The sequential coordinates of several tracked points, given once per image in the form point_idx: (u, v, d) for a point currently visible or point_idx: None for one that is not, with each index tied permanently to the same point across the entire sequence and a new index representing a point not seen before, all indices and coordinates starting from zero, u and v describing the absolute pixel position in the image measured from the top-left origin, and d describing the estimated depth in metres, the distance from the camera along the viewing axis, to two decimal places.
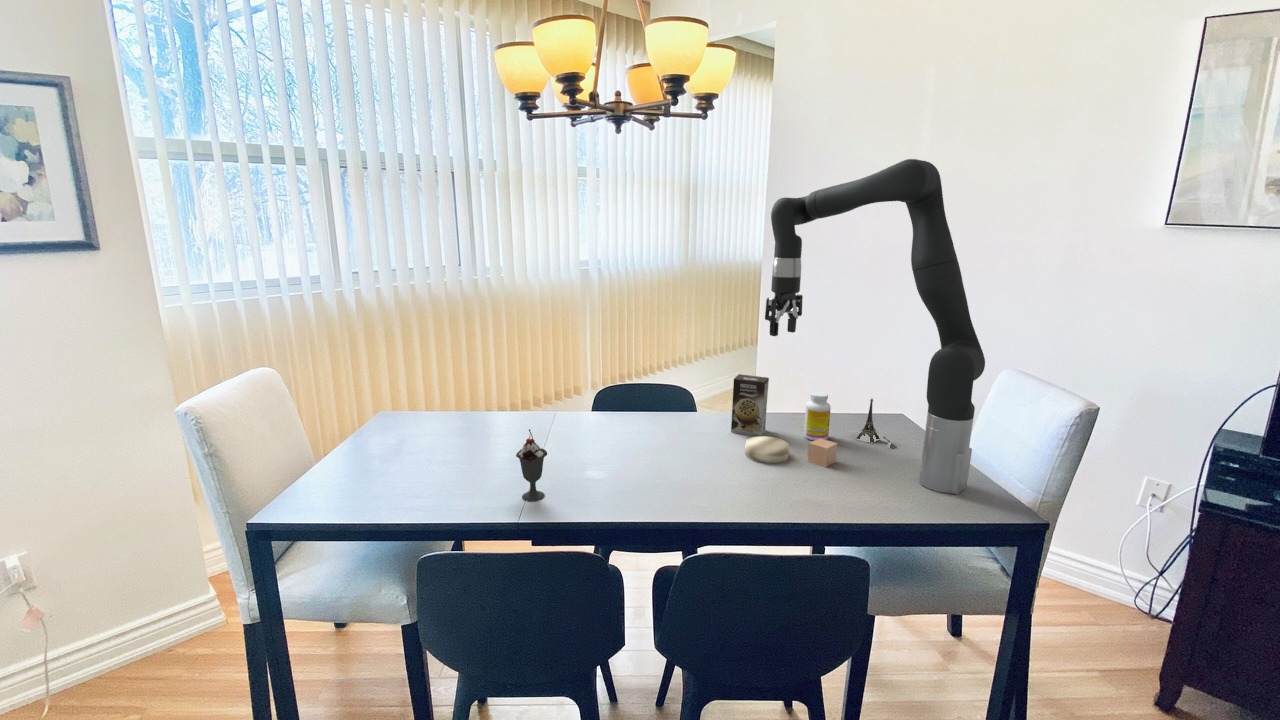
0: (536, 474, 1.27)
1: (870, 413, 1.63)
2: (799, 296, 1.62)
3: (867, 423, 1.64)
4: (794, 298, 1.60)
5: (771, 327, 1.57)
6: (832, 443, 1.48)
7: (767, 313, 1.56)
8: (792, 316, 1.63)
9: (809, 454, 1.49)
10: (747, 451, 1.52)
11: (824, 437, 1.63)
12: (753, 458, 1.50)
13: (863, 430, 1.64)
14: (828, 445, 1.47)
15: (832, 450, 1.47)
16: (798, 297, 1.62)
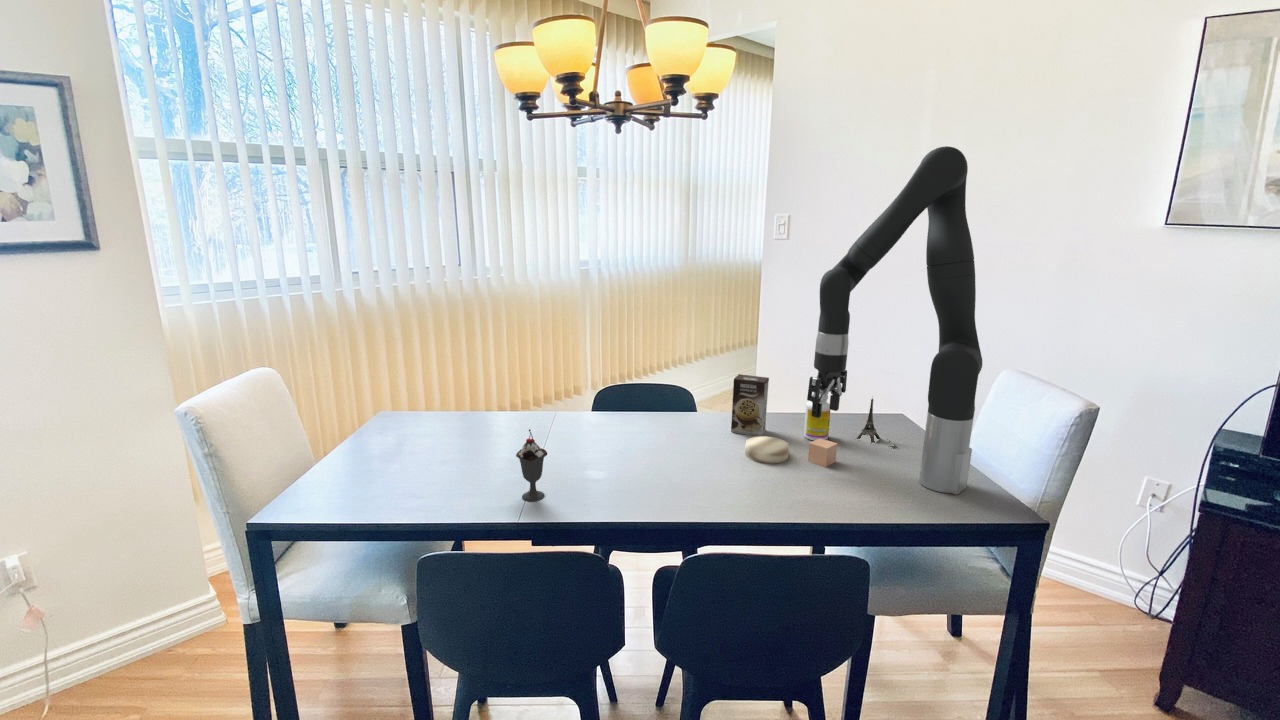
0: (536, 474, 1.27)
1: (870, 413, 1.63)
2: (843, 372, 1.48)
3: (867, 423, 1.64)
4: (839, 375, 1.46)
5: (814, 408, 1.43)
6: (832, 443, 1.48)
7: (810, 393, 1.41)
8: (835, 393, 1.48)
9: (809, 454, 1.49)
10: (747, 451, 1.52)
11: (824, 437, 1.63)
12: (753, 458, 1.50)
13: (863, 430, 1.64)
14: (828, 445, 1.47)
15: (832, 450, 1.47)
16: (842, 373, 1.48)
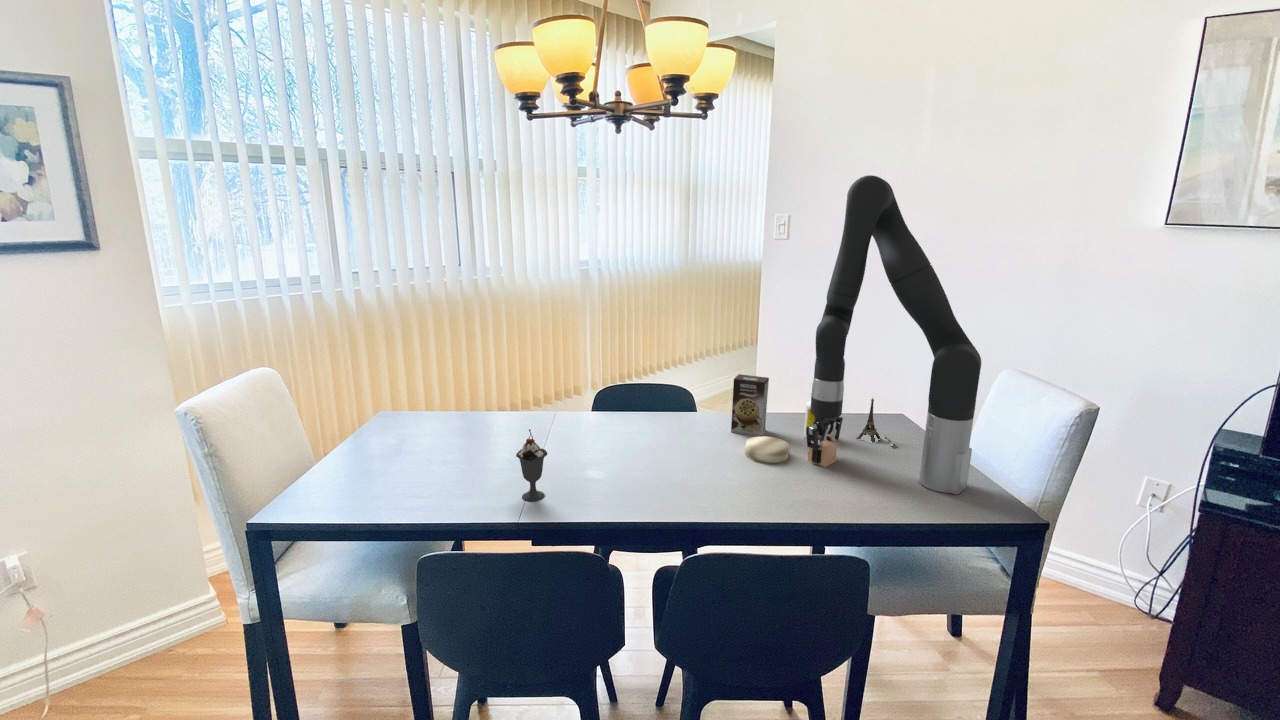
0: (536, 474, 1.27)
1: (871, 413, 1.63)
2: (839, 418, 1.50)
3: (868, 423, 1.64)
4: (835, 419, 1.48)
5: (813, 454, 1.47)
6: (832, 443, 1.48)
7: (809, 441, 1.45)
8: (829, 440, 1.50)
9: (809, 454, 1.49)
10: (747, 451, 1.52)
11: None
12: (753, 458, 1.50)
13: (864, 430, 1.64)
14: (827, 445, 1.47)
15: (832, 449, 1.47)
16: (838, 419, 1.50)
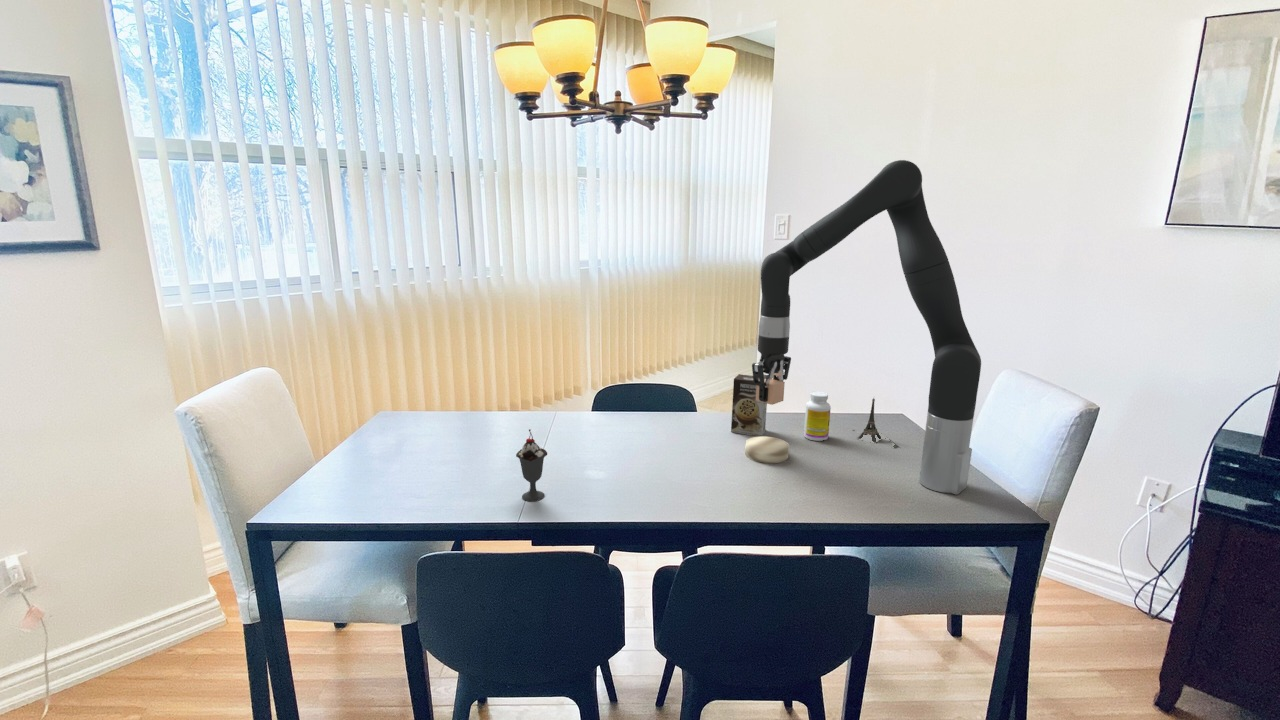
0: (536, 474, 1.27)
1: (872, 413, 1.63)
2: (787, 358, 1.51)
3: (869, 423, 1.64)
4: (782, 358, 1.49)
5: (760, 392, 1.47)
6: (779, 382, 1.49)
7: (755, 378, 1.45)
8: (777, 379, 1.51)
9: (757, 393, 1.49)
10: (747, 451, 1.52)
11: (824, 437, 1.63)
12: (753, 458, 1.50)
13: (865, 430, 1.64)
14: (774, 383, 1.47)
15: (779, 388, 1.48)
16: (786, 359, 1.51)
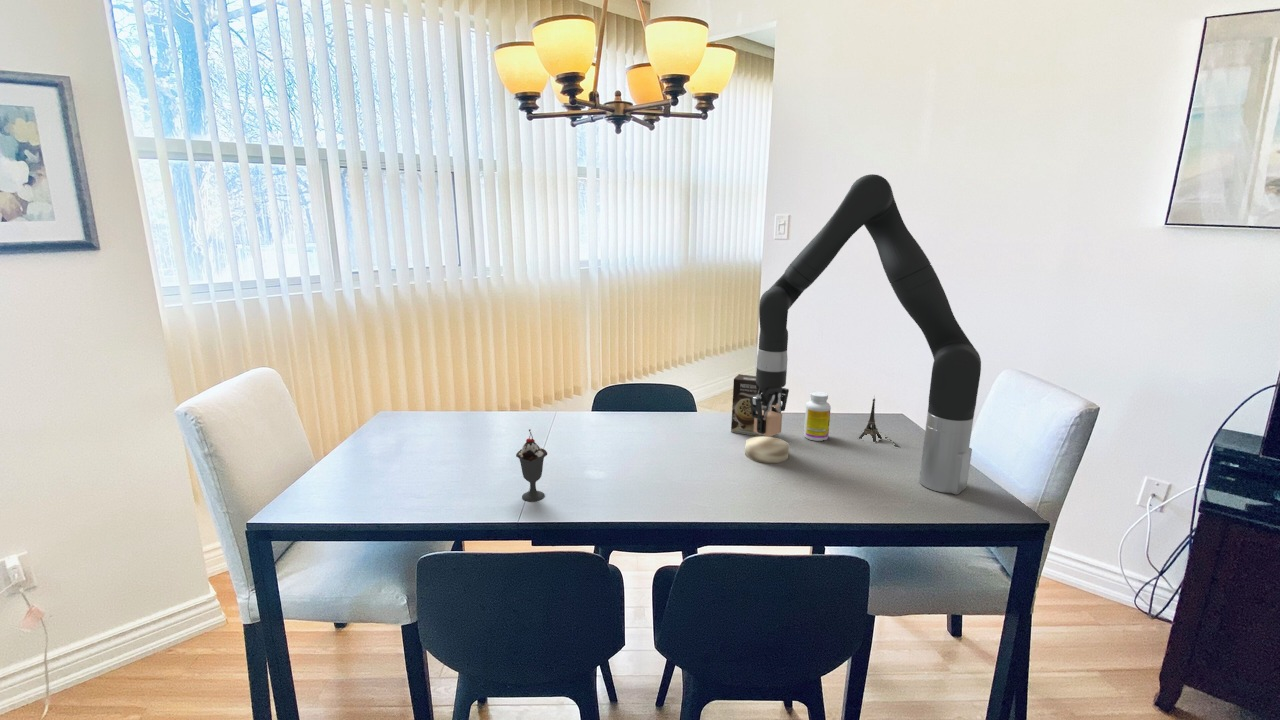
0: (536, 474, 1.27)
1: (872, 413, 1.63)
2: (785, 390, 1.53)
3: (869, 423, 1.64)
4: (780, 390, 1.51)
5: (758, 424, 1.49)
6: (777, 413, 1.51)
7: (753, 411, 1.47)
8: (775, 411, 1.53)
9: (755, 424, 1.51)
10: (747, 451, 1.52)
11: (824, 437, 1.63)
12: (753, 458, 1.50)
13: (865, 430, 1.64)
14: (772, 415, 1.49)
15: (777, 420, 1.50)
16: (784, 391, 1.53)
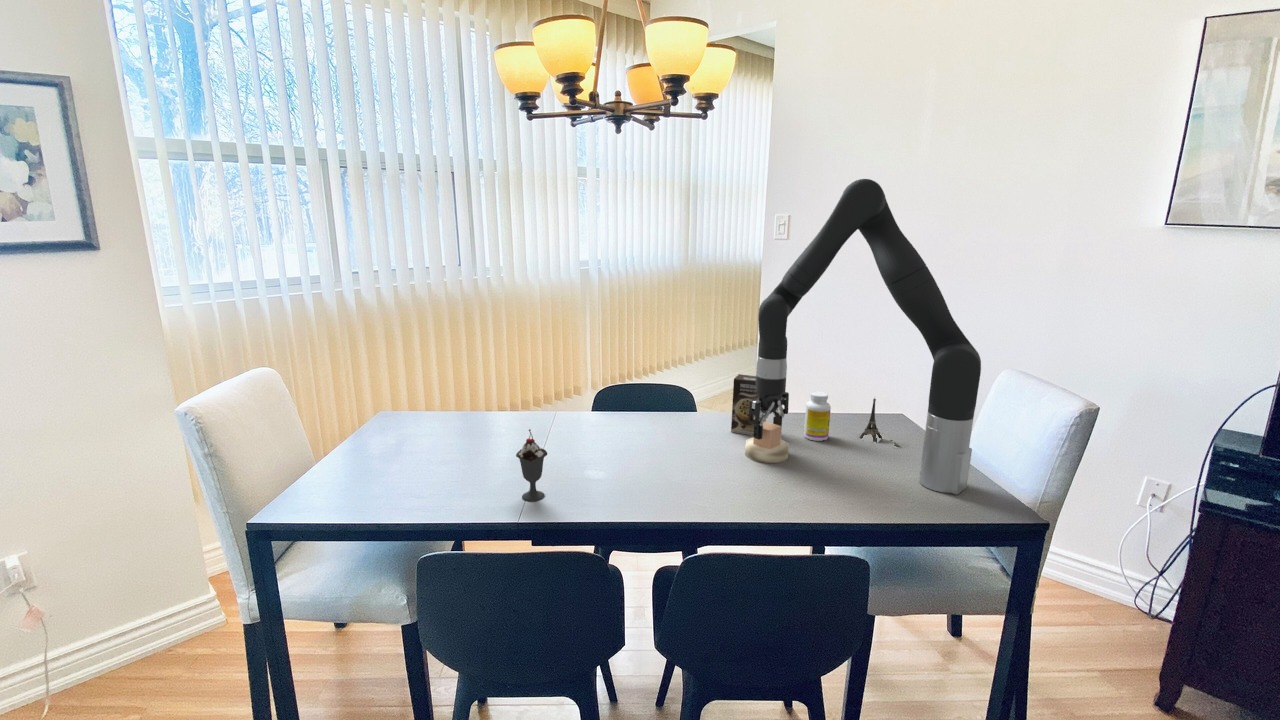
0: (536, 474, 1.27)
1: (873, 413, 1.63)
2: (785, 394, 1.53)
3: (870, 422, 1.64)
4: (780, 397, 1.51)
5: (755, 430, 1.48)
6: (776, 426, 1.51)
7: (750, 416, 1.47)
8: (778, 415, 1.54)
9: None
10: (747, 451, 1.52)
11: (824, 437, 1.63)
12: (753, 458, 1.50)
13: (866, 430, 1.65)
14: (771, 428, 1.50)
15: (776, 432, 1.50)
16: (784, 395, 1.53)
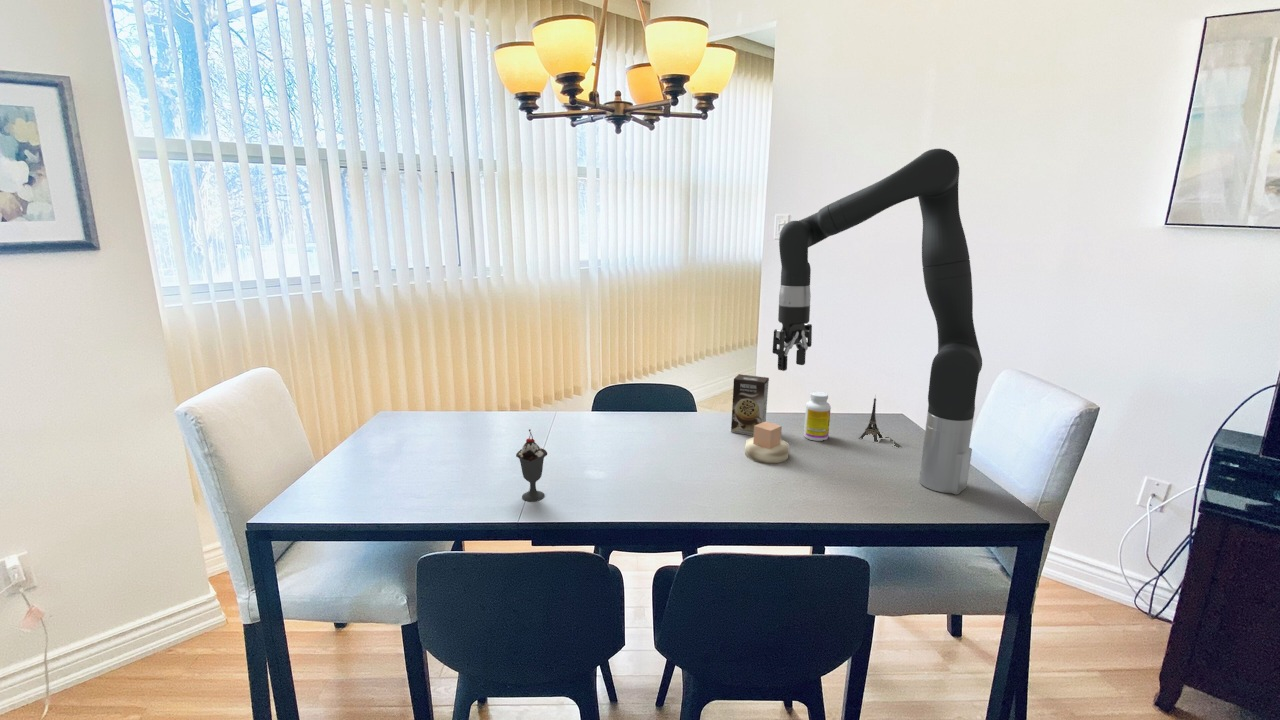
0: (536, 474, 1.27)
1: (873, 412, 1.64)
2: (808, 326, 1.50)
3: (870, 422, 1.64)
4: (803, 328, 1.48)
5: (779, 361, 1.45)
6: (776, 426, 1.51)
7: (775, 346, 1.43)
8: (801, 347, 1.50)
9: (754, 437, 1.52)
10: (747, 451, 1.52)
11: (824, 437, 1.63)
12: (753, 458, 1.50)
13: (866, 429, 1.65)
14: (772, 428, 1.50)
15: (776, 432, 1.50)
16: (807, 327, 1.50)
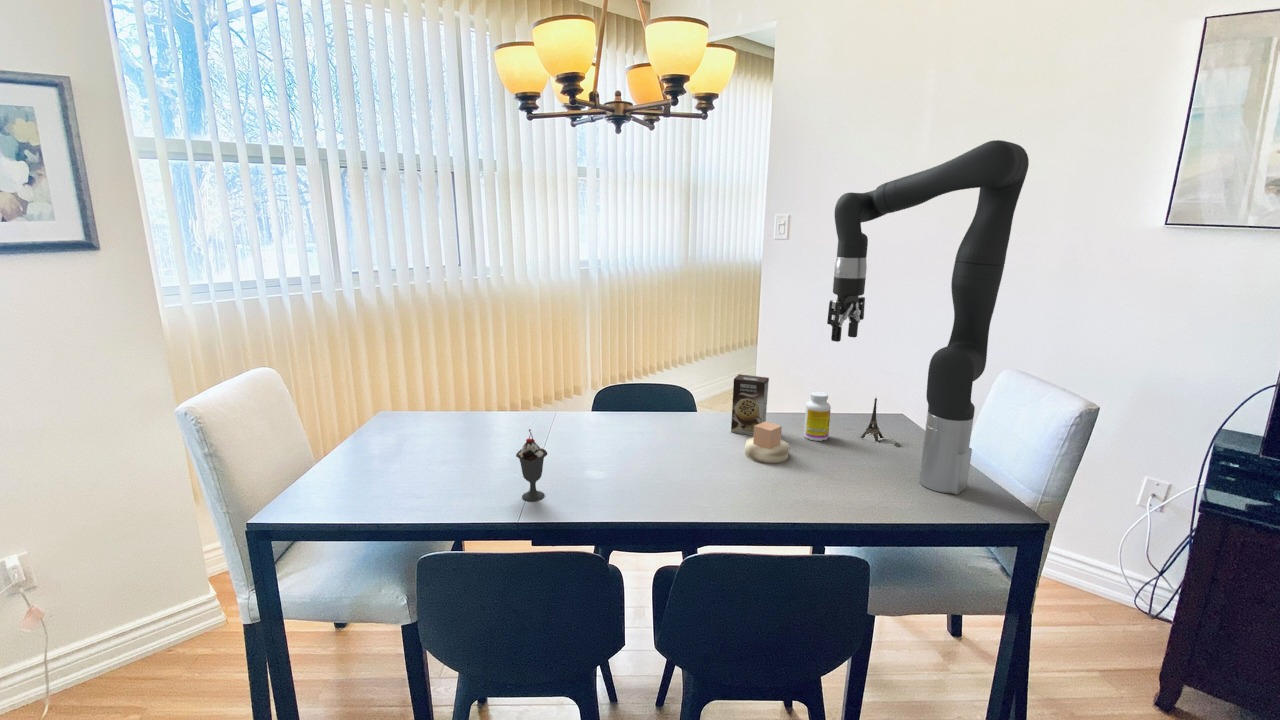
0: (536, 474, 1.27)
1: (874, 412, 1.64)
2: (861, 298, 1.52)
3: (871, 422, 1.64)
4: (857, 301, 1.50)
5: (833, 332, 1.47)
6: (776, 426, 1.51)
7: (830, 317, 1.45)
8: (854, 320, 1.52)
9: (754, 437, 1.52)
10: (747, 451, 1.52)
11: (824, 437, 1.63)
12: (753, 458, 1.50)
13: (867, 429, 1.65)
14: (772, 428, 1.50)
15: (776, 432, 1.50)
16: (860, 300, 1.52)
